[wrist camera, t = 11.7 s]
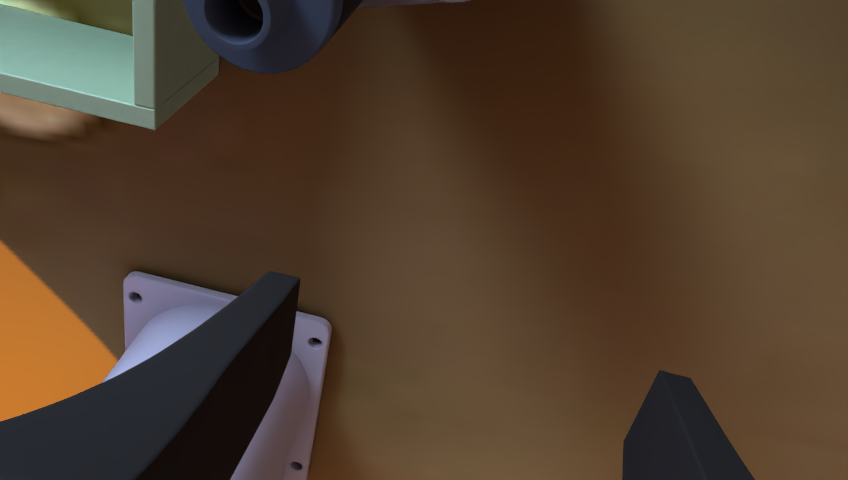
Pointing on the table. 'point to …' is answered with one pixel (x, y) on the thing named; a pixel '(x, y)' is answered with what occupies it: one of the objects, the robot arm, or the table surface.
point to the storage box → (107, 63)
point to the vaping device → (275, 28)
